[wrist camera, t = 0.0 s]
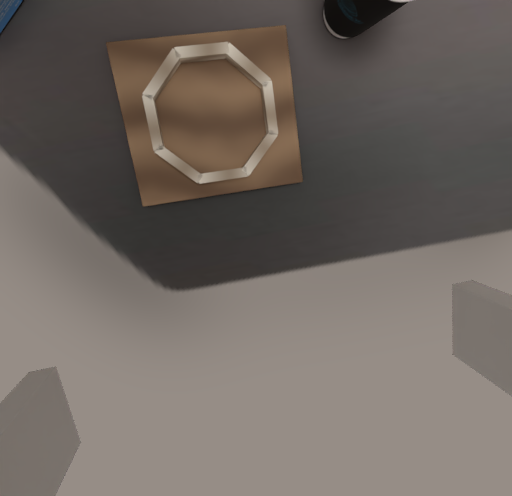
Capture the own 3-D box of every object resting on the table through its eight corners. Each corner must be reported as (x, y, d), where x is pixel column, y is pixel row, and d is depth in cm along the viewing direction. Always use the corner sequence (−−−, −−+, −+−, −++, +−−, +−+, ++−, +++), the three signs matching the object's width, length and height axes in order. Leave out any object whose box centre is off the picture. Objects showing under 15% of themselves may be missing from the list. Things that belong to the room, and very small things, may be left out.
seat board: (109, 47, 32) (101, 36, 29) (283, 30, 34) (289, 18, 31) (145, 205, 36) (140, 207, 33) (299, 181, 38) (306, 181, 35)
